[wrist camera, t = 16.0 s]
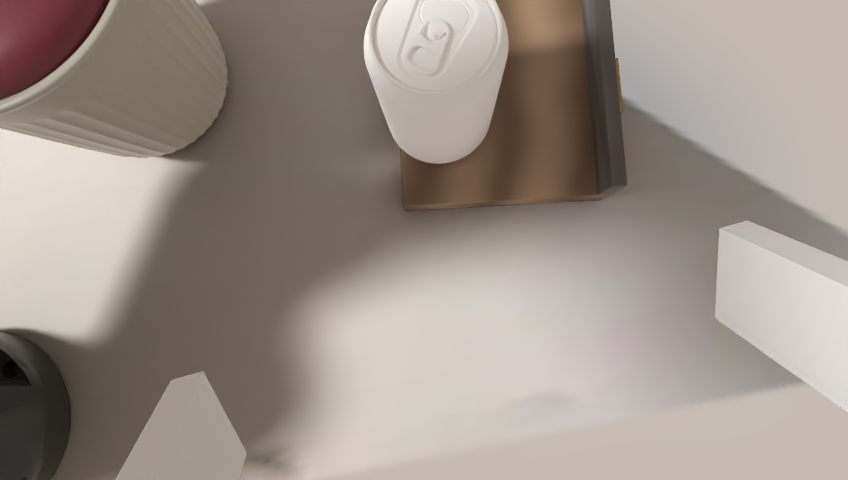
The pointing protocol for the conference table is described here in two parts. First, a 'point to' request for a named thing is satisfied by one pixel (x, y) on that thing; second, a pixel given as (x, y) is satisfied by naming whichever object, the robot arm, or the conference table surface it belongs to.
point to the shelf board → (539, 117)
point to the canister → (110, 73)
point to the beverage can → (436, 72)
